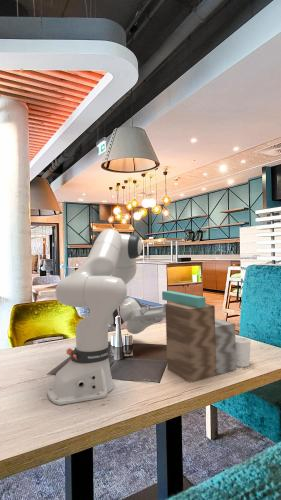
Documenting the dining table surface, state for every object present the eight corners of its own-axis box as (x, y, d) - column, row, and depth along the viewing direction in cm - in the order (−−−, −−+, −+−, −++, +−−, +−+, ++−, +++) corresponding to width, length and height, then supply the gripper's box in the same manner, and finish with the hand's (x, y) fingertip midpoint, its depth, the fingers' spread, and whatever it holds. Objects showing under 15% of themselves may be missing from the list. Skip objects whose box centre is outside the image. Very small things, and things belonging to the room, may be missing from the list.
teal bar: (198, 307, 117) (197, 298, 117) (162, 299, 138) (162, 291, 138) (205, 306, 118) (205, 297, 118) (169, 298, 139) (168, 290, 139)
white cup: (252, 368, 126) (251, 342, 126) (231, 367, 128) (230, 342, 128) (249, 361, 134) (249, 337, 134) (230, 360, 136) (229, 336, 136)
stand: (190, 382, 115) (188, 309, 115) (167, 369, 128) (165, 303, 128) (236, 369, 125) (234, 302, 125) (210, 358, 138) (208, 298, 138)
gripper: (123, 313, 152) (135, 302, 141) (160, 308, 161) (174, 297, 151) (127, 326, 149) (139, 316, 138) (164, 320, 159) (178, 310, 148)
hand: (157, 306), depth 145 cm, fingers open, 8 cm apart
